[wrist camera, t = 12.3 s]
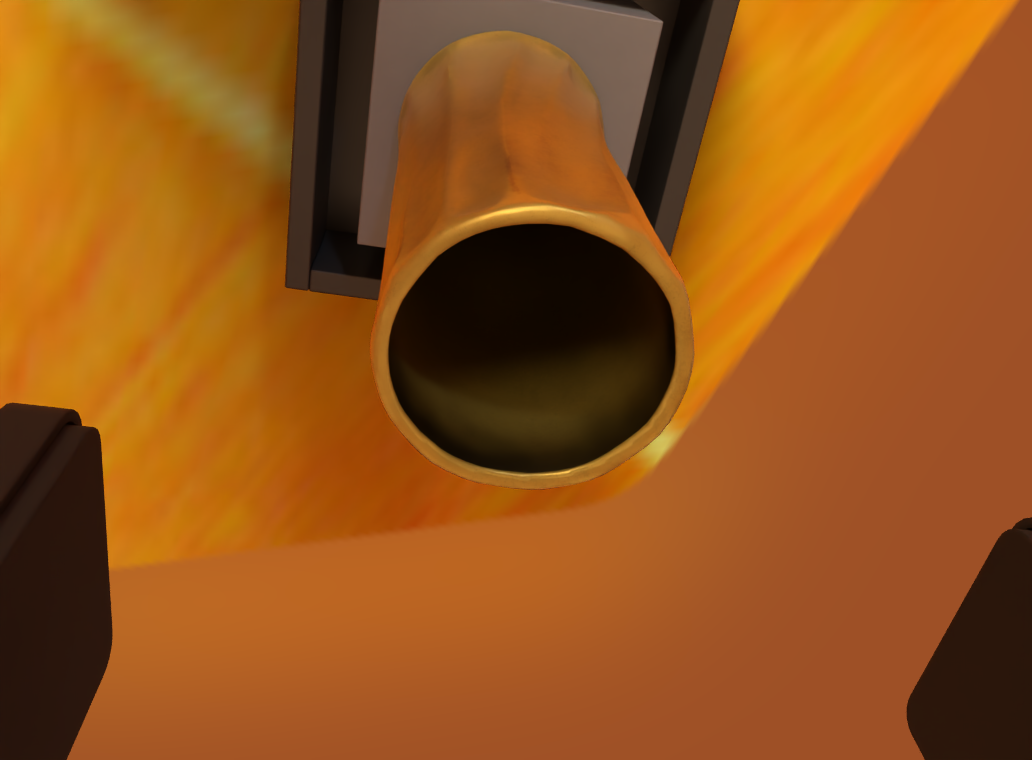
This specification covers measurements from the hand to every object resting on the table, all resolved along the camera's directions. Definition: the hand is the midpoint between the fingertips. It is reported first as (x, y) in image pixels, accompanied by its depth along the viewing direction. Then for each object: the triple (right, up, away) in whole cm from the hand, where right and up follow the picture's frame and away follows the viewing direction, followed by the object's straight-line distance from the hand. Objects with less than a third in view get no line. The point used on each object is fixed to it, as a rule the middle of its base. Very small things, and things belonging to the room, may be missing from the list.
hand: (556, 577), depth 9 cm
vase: (-1, +9, +18) cm, 20 cm away
